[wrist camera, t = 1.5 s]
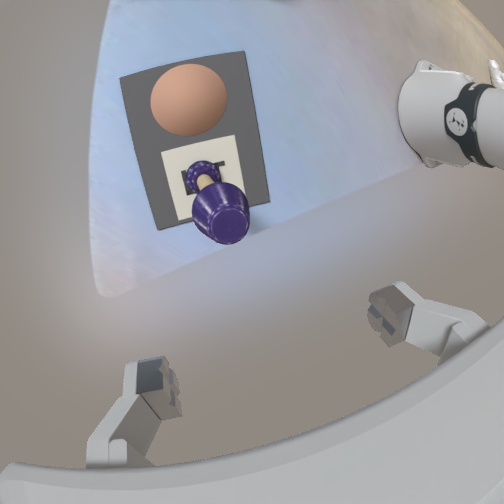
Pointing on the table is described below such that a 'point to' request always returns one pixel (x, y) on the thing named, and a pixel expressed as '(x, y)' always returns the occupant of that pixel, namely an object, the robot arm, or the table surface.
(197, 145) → the mat
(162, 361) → the robot arm
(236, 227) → the toy lamp
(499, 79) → the seated beast figurine
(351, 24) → the table surface
